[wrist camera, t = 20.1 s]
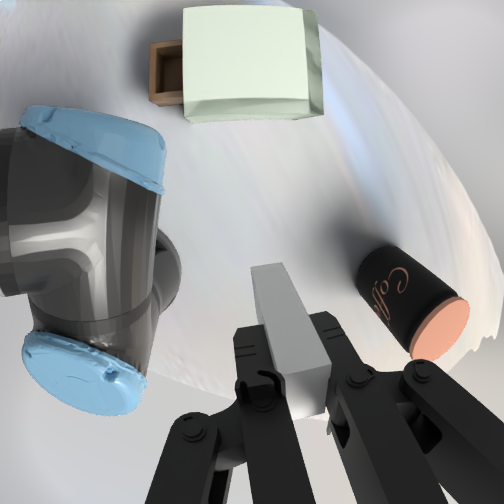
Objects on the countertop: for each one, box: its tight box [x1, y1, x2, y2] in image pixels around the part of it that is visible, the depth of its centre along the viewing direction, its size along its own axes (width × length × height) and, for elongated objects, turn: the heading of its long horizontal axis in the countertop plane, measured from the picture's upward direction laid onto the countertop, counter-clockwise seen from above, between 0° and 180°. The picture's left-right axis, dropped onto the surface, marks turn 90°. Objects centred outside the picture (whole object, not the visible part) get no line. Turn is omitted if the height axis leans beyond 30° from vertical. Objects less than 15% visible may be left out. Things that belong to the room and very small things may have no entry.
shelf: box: [183, 5, 324, 124], centre depth 25 cm, size 13×12×10 cm
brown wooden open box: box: [149, 39, 184, 106], centre depth 26 cm, size 12×7×6 cm, turn 91°
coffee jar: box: [357, 246, 470, 362], centre depth 36 cm, size 11×11×18 cm
